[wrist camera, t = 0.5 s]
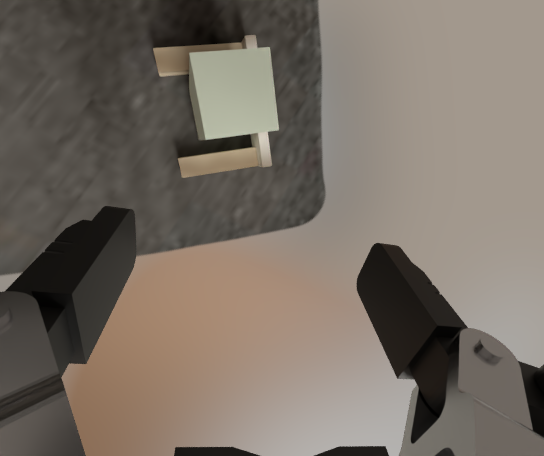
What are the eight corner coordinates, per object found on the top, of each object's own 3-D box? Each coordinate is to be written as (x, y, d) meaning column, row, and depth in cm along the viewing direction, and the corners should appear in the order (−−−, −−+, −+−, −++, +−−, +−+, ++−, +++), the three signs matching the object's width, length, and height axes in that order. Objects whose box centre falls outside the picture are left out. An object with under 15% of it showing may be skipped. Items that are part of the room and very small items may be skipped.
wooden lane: (155, 54, 28) (150, 41, 25) (247, 47, 30) (255, 35, 27) (182, 175, 32) (181, 180, 29) (262, 163, 34) (271, 165, 31)
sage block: (189, 90, 30) (189, 52, 17) (236, 85, 31) (269, 47, 18) (198, 140, 32) (205, 140, 19) (243, 134, 33) (278, 130, 20)
